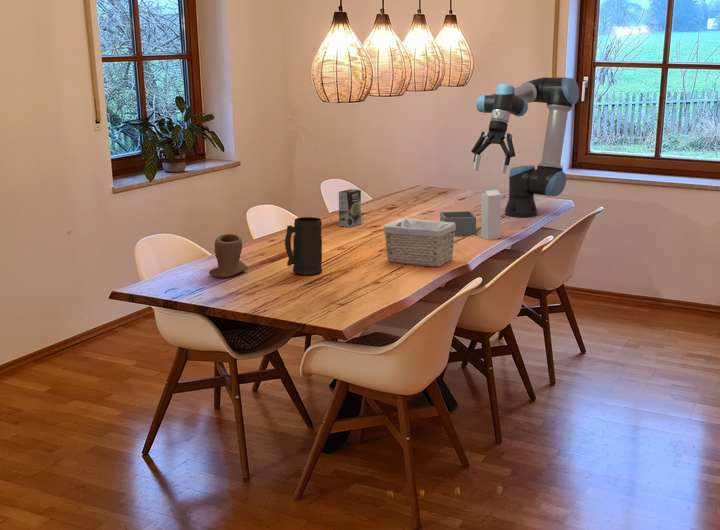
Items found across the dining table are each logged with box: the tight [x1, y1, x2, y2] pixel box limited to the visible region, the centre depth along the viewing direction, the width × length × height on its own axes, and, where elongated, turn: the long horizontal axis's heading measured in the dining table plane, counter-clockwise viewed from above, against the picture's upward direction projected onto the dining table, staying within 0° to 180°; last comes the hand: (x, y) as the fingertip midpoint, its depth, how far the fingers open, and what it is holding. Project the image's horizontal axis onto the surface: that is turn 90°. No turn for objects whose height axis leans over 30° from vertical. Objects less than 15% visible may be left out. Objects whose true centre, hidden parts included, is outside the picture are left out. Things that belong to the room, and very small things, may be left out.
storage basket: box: [383, 217, 456, 268], centre depth 326 cm, size 24×16×15 cm
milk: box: [480, 185, 502, 240], centre depth 359 cm, size 6×6×22 cm
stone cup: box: [208, 233, 249, 278], centre depth 312 cm, size 15×12×15 cm
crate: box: [439, 210, 477, 237], centre depth 372 cm, size 14×14×8 cm
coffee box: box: [338, 188, 362, 228], centre depth 390 cm, size 9×6×16 cm
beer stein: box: [284, 216, 323, 275], centre depth 310 cm, size 15×11×20 cm
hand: (489, 171), depth 357 cm, fingers open, 13 cm apart
